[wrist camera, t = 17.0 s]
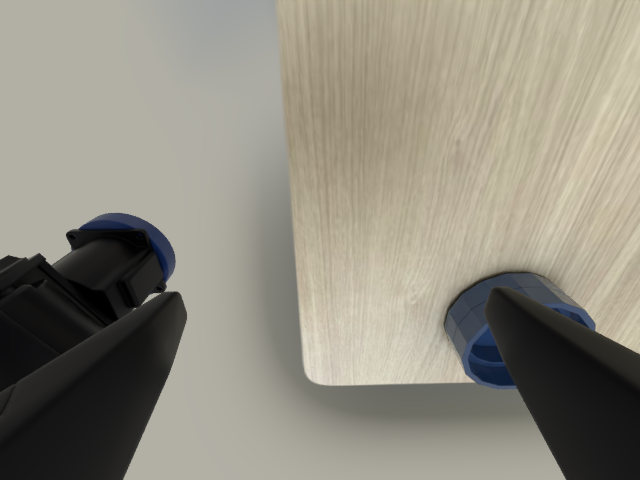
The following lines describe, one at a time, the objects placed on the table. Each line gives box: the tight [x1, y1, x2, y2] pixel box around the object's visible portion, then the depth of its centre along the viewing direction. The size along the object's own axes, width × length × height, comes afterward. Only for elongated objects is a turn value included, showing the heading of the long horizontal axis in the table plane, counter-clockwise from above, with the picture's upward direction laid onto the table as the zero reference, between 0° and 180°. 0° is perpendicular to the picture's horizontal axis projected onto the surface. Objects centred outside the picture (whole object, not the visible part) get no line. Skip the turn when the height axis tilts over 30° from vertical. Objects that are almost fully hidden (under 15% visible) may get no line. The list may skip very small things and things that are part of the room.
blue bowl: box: [445, 273, 596, 389], centre depth 25 cm, size 10×10×4 cm
